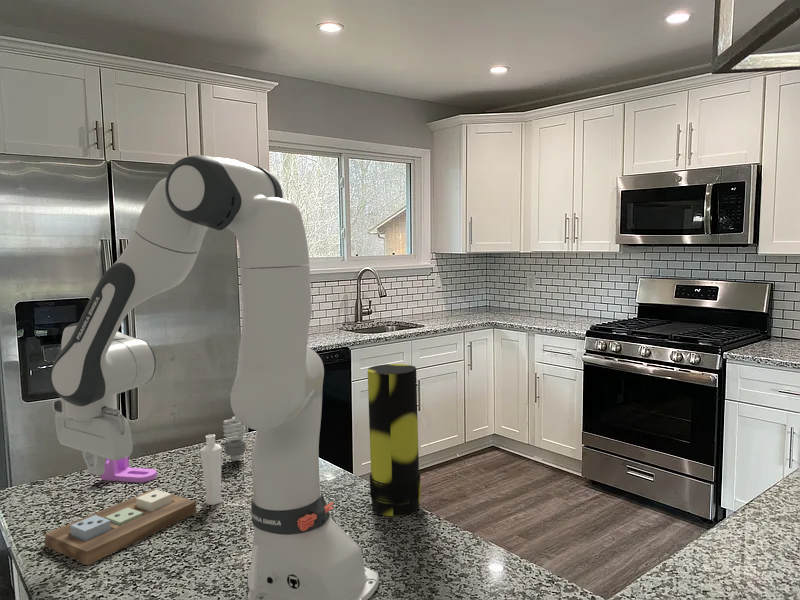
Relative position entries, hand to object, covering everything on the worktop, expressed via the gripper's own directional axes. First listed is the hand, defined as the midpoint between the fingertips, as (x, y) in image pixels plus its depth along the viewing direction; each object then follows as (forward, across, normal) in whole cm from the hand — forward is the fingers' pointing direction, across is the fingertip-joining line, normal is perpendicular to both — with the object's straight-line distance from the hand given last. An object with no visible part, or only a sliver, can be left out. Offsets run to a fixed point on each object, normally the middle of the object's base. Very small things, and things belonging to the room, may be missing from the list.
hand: (96, 473), depth 116 cm
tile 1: (+12, 0, -12) cm, 17 cm away
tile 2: (+13, 0, -5) cm, 14 cm away
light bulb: (+13, +10, -43) cm, 46 cm away
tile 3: (+12, 0, +2) cm, 12 cm away
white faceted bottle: (+13, -6, -23) cm, 27 cm away
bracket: (+14, +24, -22) cm, 36 cm away
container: (+13, -42, -41) cm, 60 cm away
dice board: (+13, 0, -5) cm, 14 cm away
